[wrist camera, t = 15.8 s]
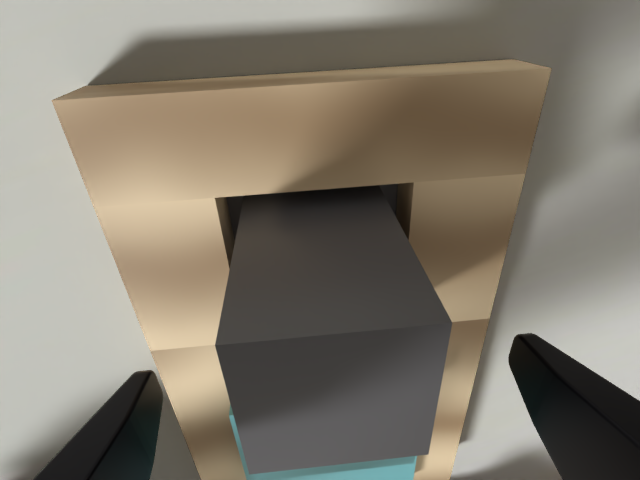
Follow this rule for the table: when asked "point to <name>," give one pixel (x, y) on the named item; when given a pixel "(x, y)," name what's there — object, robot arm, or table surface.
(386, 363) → the plug
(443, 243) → the socket plate
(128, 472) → the robot arm
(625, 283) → the table surface
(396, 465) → the panel
